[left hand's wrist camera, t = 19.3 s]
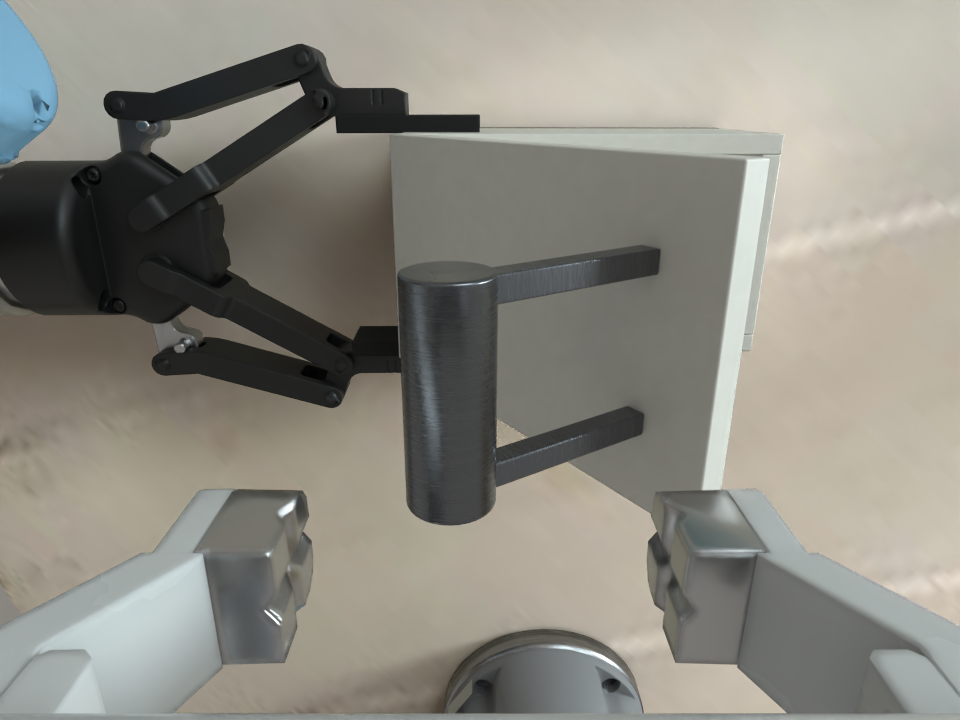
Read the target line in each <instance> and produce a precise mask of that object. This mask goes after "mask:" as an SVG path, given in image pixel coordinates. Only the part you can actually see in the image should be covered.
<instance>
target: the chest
mask: <svg viewBox="0 0 960 720" xmlns="http://www.w3.org/2000/svg"><path fill="white" fill-rule="evenodd" d="M401 134H420V135H435V136H450V137H466V138H481V139H496V140H511V141H527V142H542V143H557V144H572V145H588V146H603V147H618V148H633V149H648V150H664V151H679V152H694V153H709V154H725V155H740V156H755V157H767V158H769V160H770V161H769V168H768V175H767V182H766V188H765V195H764V202H763V209H762V215H761V222H760V229H759V236H758V242H757V249H756V256H755V263H754V269H753V276H752V283H751V290H750V296H749V303H748V310H747V317H746V323H745V330H744V337H743V344H742V350H741V351H751V347H752V340H753V335H752V334H753V333H754V327H755V321H756V314H757V308H758V301H759V295H760V288H761V282H762V275H763V269H764V262H765V256H766V249H767V243H768V236H769V229H770V223H771V216H772V210H773V203H774V197H775V190H776V184H777V177H778V171H779V164H780V158H781V155H779V154H781V153H782V146H783V140H784V134H778V133H766V132H754V131H743V130H731V129H719V128H542V127H480V132H403V133H401Z"/></svg>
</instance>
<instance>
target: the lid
mask: <svg viewBox="0 0 960 720" xmlns="http://www.w3.org/2000/svg"><path fill="white" fill-rule="evenodd" d="M390 155H391V178H392V201H393V224H394V247H395V270H396V293H397V317H398V340H399V357H400V358H401V381H402V404H403V428H404V451H405V474H406V498H407V505H408V507H409V509H410V511H411V512H412V513H413V514H414V515H415V516H416V517H418V518H420V519H422V520H424V521H426V522H429V523H433V524H439V525H461V524H466V523H470V522H473V521H476V520H478V519H480V518H482V517H484V516H485V515H487V514H488V513H489V512H490V511H491V509H492V508H493V506H494V504H495V500H496V487H498V486H501V485H504V484H507V483H509V482H512V481H515V480H518V479H520V478H523V477H526V476H529V475H532V474H534V473H537V472H540V471H543V470H545V469H548V468H551V467H554V466H556V465H559V464H562V463H565V462H569V463H570V464H572V465H574V466H575V467H577V468H578V469H580V470H582V471H583V472H585V473H586V474H588V475H590V476H591V477H593V478H594V479H596V480H598V481H599V482H601V483H602V484H604V485H606V486H607V487H609V488H611V489H612V490H614V491H615V492H617V493H619V494H620V495H622V496H623V497H625V498H627V499H628V500H630V501H631V502H633V503H635V504H636V505H638V506H640V507H641V508H643V509H644V510H646V511H648V512H649V513H651V512H652V503H653V499H654V496H655V492H659V491H694V490H721V486H722V479H723V472H724V465H725V459H726V452H727V445H728V438H729V432H730V425H731V418H732V411H733V405H734V398H735V391H736V384H737V378H738V371H739V364H740V357H741V350H742V344H743V337H744V330H745V323H746V317H747V310H748V303H749V296H750V290H751V283H752V276H753V269H754V263H755V256H756V249H757V242H758V236H759V229H760V222H761V215H762V209H763V202H764V195H765V188H766V182H767V175H768V168H769V161H770V160H769V158H767V157H755V156H740V155H725V154H709V153H694V152H679V151H664V150H648V149H633V148H618V147H603V146H588V145H572V144H557V143H542V142H527V141H511V140H496V139H481V138H466V137H450V136H435V135H420V134H390ZM497 418H498V419H499V420H501V421H503V422H504V423H506V424H507V425H509V426H511V427H512V428H514V429H516V430H517V431H519V432H520V433H522V434H524V435H525V436H527V437H528V438H527V439H524V440H520V441H517V442H514V443H511V444H508V445H505V446H502V447H499V448H496V426H497Z"/></svg>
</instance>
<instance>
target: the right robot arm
mask: <svg viewBox="0 0 960 720" xmlns="http://www.w3.org/2000/svg"><path fill="white" fill-rule="evenodd" d="M297 82H300V84H301V86H302V89H303V91H304V93H305V95H304V96H302V97H301V98H299V99H298V100H296V101H295V102H293V103H292V104H290V105H289V106H287V107H286V108H284V109H283V110H281V111H280V112H278V113H277V114H275V115H274V116H272V117H271V118H269V119H268V120H266V121H265V122H263V123H262V124H261V125H259V126H258V127H256V128H255V129H253V130H252V131H250V132H249V133H247V134H246V135H244V136H243V137H241V138H240V139H238V140H237V141H235V142H234V143H232V144H231V145H229V146H228V147H226V148H225V149H223V150H222V151H220V152H219V153H217V154H216V155H214V156H213V157H211V158H210V159H208V160H207V161H205V162H203V163H202V164H200V165H197V166H195V167H194V168H192V169H190V170H189V171H187V172H186V173H182V172H181V171H179V170H178V169H176V168H175V167H173V166H172V165H170V164H169V163H167V162H166V161H164V160H163V159H161V158H160V157H158V156H157V155H155V154H154V153H152V152H151V145H152V143H153V141H154V140H156V139H158V138H162V137H165V136H166V135H168V133H169V132H170V127H171V124H170V120H181V119H188V118H192V117H195V116H199V115H202V114H205V113H207V112H210V111H213V110H216V109H219V108H222V107H225V106H228V105H231V104H234V103H237V102H240V101H243V100H246V99H249V98H252V97H255V96H258V95H261V94H264V93H267V92H270V91H273V90H276V89H279V88H282V87H285V86H288V85H291V84H294V83H297ZM57 106H58V92H57V86H56V82H55V79H54V76H53V73H52V71H51V68H50V66H49V63H48V61H47V59H46V57H45V55H44V53H43V51H42V50H41V48H40V46H39V45H38V43H37V41H36V40H35V38H34V37H33V36H32V34H31V33H30V31H29V30H28V28H27V27H26V26H25V24H24V23H23V22H22V21H21V19H20V18H19V17H18V16H17V14H16V13H15V12H14V11H13V9H12V8H11V7H10V6H9V5H8V4H7V2H6V1H5V0H0V315H26V316H27V315H30V314H34V313H38V314H42V315H120V314H127V315H132V316H136V317H138V318H141V319H143V320H145V321H147V322H150V323H152V325H153V329H154V333H155V338H156V342H157V346H158V350H159V353H158V354H157V355H156V356H154V357H153V359H152V367H153V369H154V370H155V371H156V372H157V373H158V374H160V375H166V376H167V375H183V374H201V375H205V376H209V377H213V378H217V379H221V380H225V381H228V382H232V383H236V384H240V385H244V386H248V387H251V388H255V389H259V390H263V391H267V392H271V393H275V394H278V395H282V396H286V397H290V398H294V399H298V400H301V401H305V402H309V403H313V404H317V405H321V406H324V407H328V408H334V407H337V406H339V405H340V404H341V402H342V400H343V398H344V395H345V393H346V391H347V389H348V386H349V384H350V380H351V377H352V376H354V375H355V374H358V373H387V372H388V373H395V372H396V373H401V358H400V357H399V340H398V326H360V328H359V330H358V331H357V333H356V335H355V337H354V339H353V340H351V339H350V338H348V337H346V336H344V335H342V334H340V333H338V332H336V331H334V330H332V329H331V328H329V327H327V326H325V325H323V324H321V323H319V322H317V321H315V320H314V319H312V318H310V317H308V316H306V315H304V314H302V313H300V312H298V311H296V310H295V309H293V308H291V307H289V306H287V305H285V304H283V303H281V302H279V301H278V300H276V299H274V298H272V297H270V296H268V295H266V294H264V293H262V292H260V291H259V290H257V289H255V288H253V287H251V286H250V285H249V284H248V282H247V281H246V280H245V279H243V278H241V277H239V276H237V275H236V274H234V273H232V272H230V271H228V270H227V267H229V266H230V265H231V263H230V255H229V250H228V247H227V245H226V242H225V240H224V237H223V229H224V222H225V218H224V210H223V205H219V204H218V202H217V200H216V198H215V197H214V196H215V195H217V194H218V193H220V192H221V191H223V190H224V189H226V188H227V187H229V186H230V185H232V184H233V183H235V182H236V181H237V180H238V179H239V178H241V177H242V176H244V175H245V174H247V173H249V172H250V171H252V170H253V169H255V168H256V167H258V166H259V165H261V164H262V163H264V162H265V161H267V160H268V159H270V158H271V157H273V156H274V155H276V154H278V153H279V152H281V151H282V150H284V149H285V148H287V147H288V146H290V145H291V144H293V143H294V142H296V141H297V140H299V139H300V138H302V137H303V136H305V135H307V134H308V133H310V132H311V131H313V130H314V129H316V128H317V127H319V126H320V125H322V124H323V123H325V122H326V121H328V120H329V119H331V118H332V117H334V116H335V117H336V130H337V133H403V132H480V115H409V105H408V93H406V92H403V91H401V90H399V89H396V88H342V87H340V86H338V85H337V84H336V83H335V82H334V81H333V79H332V77H331V75H330V72H329V70H328V67H327V65H326V58H325V56H324V55H323V53H322V52H321V51H319V50H317V49H315V48H313V47H310V46H307V45H304V44H296V45H293V46H290V47H288V48H285V49H282V50H279V51H276V52H273V53H270V54H267V55H264V56H261V57H258V58H255V59H252V60H249V61H246V62H243V63H240V64H237V65H235V66H232V67H229V68H226V69H223V70H220V71H217V72H214V73H211V74H208V75H205V76H202V77H199V78H196V79H193V80H190V81H187V82H184V83H182V84H179V85H176V86H173V87H170V88H167V89H164V90H161V91H158V92H155V93H149V92H130V91H111V92H109V93H108V94H106V96H105V98H104V107H105V110H106V111H107V113H108V114H109V115H110V116H111V117H113V118H116V119H117V122H118V130H119V138H120V146H121V152H120V153H118V154H116V155H115V156H113V157H112V158H110V159H108V160H105V161H24V162H20V163H18V164H15V163H12V162H11V160H14V159H15V158H17V157H18V154H19V151H20V150H21V149H22V148H23V147H24V146H26V145H27V144H28V143H29V142H30V141H32V140H33V139H34V138H35V137H36V136H37V135H39V134H40V133H41V132H42V131H43V130H45V129H46V128H47V127H48V126H49V124H50V123H51V122H52V120H53V118H54V117H55V114H56V111H57ZM191 305H192V306H194V307H196V308H198V309H200V310H202V311H204V312H206V313H207V314H209V315H212V316H214V317H218V318H226V319H228V320H230V321H232V322H234V323H236V324H238V325H240V326H242V327H244V328H246V329H248V330H250V331H252V332H254V333H256V334H258V335H260V336H261V337H263V338H265V339H267V340H269V341H271V342H273V343H275V344H277V345H279V346H281V347H283V348H285V349H287V350H289V351H291V352H293V353H295V354H296V355H298V356H300V357H302V358H304V359H306V360H308V361H310V362H308V361H304V360H300V359H296V358H293V357H289V356H285V355H281V354H278V353H274V352H270V351H266V350H263V349H259V348H255V347H251V346H248V345H244V344H240V343H236V342H233V341H229V340H225V339H220V338H212V337H203V336H202V332H201V331H200V330H198V329H195V328H190V327H186V326H184V325H183V324H182V323H181V322H180V321H179V318H178V315H180V314H181V313H182V312H183V311H185V310H186V309H187V308H189V307H190V306H191ZM311 362H312V363H311ZM444 714H644V713H643V707H642V702H641V699H640V695H639V692H638V688H637V685H636V682H635V679H634V676H633V674H632V673H631V671H630V669H629V668H628V666H627V665H626V663H625V662H624V661H623V660H622V659H621V657H619V656H618V655H617V654H616V653H615V652H614V651H613V650H611V649H610V648H609V647H607V646H605V645H604V644H602V643H601V642H599V641H596V640H594V639H592V638H590V637H587V636H584V635H581V634H578V633H574V632H569V631H563V630H550V629H542V630H530V631H523V632H518V633H514V634H510V635H507V636H504V637H501V638H499V639H496V640H494V641H492V642H490V643H488V644H486V645H485V646H483V647H481V648H480V649H478V650H477V651H476V652H474V653H473V654H472V655H471V656H469V657H468V658H467V659H466V660H465V661H464V662H463V663H462V664H461V665H460V667H459V668H458V669H457V671H456V672H455V674H454V676H453V677H452V679H451V681H450V683H449V686H448V689H447V692H446V698H445V713H444Z"/></svg>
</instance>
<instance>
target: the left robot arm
mask: <svg viewBox="0 0 960 720" xmlns="http://www.w3.org/2000/svg"><path fill="white" fill-rule="evenodd" d="M308 517H309V512H308V505H307V498H306V495H305V494H304V492H303V491H302V490H251V489H238V490H235V489H204V490H201V491H198V492H197V493H196V495H195V496H194V497H193V499H192V500H191V501H190V503H189V504H188V505H187V507H186V508H185V509H184V511H183V512H182V514H181V515H180V516H179V518H178V519H177V520H176V522H175V523H174V524H173V526H172V527H171V528H170V530H169V531H168V532H167V534H166V535H165V536H164V538H163V539H162V540H161V542H160V543H159V544H158V546H157V547H156V549H155V550H154V551H153V553H141V554H139V555H137V556H135V557H133V558H131V559H129V560H127V561H125V562H123V563H121V564H119V565H117V566H115V567H113V568H112V569H110V570H108V571H106V572H104V573H102V574H100V575H98V576H96V577H94V578H92V579H90V580H88V581H86V582H84V583H82V584H81V585H79V586H77V587H75V588H73V589H71V590H69V591H67V592H65V593H63V594H61V595H59V596H57V597H55V598H53V599H51V600H50V601H48V602H46V603H44V604H42V605H40V606H38V607H36V608H34V609H32V610H30V611H28V612H26V613H24V614H22V615H21V616H19V617H17V618H15V619H13V620H11V621H9V622H7V623H5V624H3V625H1V626H0V720H960V626H958V625H956V624H955V623H953V622H951V621H949V620H947V619H945V618H943V617H941V616H939V615H937V614H935V613H933V612H931V611H929V610H928V609H926V608H924V607H922V606H920V605H918V604H916V603H914V602H912V601H910V600H908V599H906V598H904V597H902V596H901V595H899V594H897V593H895V592H893V591H891V590H889V589H887V588H885V587H883V586H881V585H879V584H877V583H875V582H873V581H872V580H870V579H868V578H866V577H864V576H862V575H860V574H858V573H856V572H854V571H852V570H850V569H848V568H846V567H845V566H843V565H841V564H839V563H837V562H835V561H833V560H831V559H829V558H827V557H825V556H823V555H821V554H819V553H807V551H806V550H805V549H804V547H803V546H802V545H801V543H800V542H799V541H798V539H797V538H796V537H795V535H794V534H793V533H792V531H791V530H790V529H789V527H788V526H787V525H786V523H785V522H784V520H783V519H782V518H781V516H780V515H779V514H778V512H777V511H776V510H775V508H774V507H773V506H772V504H771V503H770V502H769V500H768V499H767V498H766V496H765V495H764V494H763V492H762V491H760V490H758V489H730V490H694V491H659V492H655V496H654V499H653V503H652V512H651V517H652V520H653V522H654V525H655V527H656V530H657V532H656V533H655V534H654V536H653V537H652V538H651V539H650V540H649V541H648V552H647V572H648V582H649V587H650V592H651V595H652V598H653V601H654V604H655V605H656V606H657V607H658V608H660V609H661V610H662V611H664V619H663V630H664V632H665V635H666V638H667V641H668V644H669V646H670V649H671V652H672V655H673V657H674V660H675V663H700V664H736V665H738V666H737V667H738V668H739V669H740V670H741V671H742V672H743V673H744V674H745V675H746V676H747V677H748V678H750V679H751V680H752V681H753V682H754V683H755V684H756V685H757V686H758V687H759V688H760V689H762V690H763V691H764V692H765V693H766V694H767V695H768V696H769V697H770V698H771V699H773V700H774V701H775V702H776V703H777V704H778V705H779V706H780V707H781V708H782V709H783V710H785V711H786V712H787V713H788V714H172V713H174V712H175V711H176V710H177V709H178V708H179V707H180V706H181V705H182V704H183V703H185V702H186V701H187V700H188V699H189V698H190V697H191V696H192V695H193V694H194V693H195V692H197V691H198V690H199V689H200V688H201V687H202V686H203V685H204V684H205V683H206V682H208V681H209V680H210V679H211V678H212V677H213V676H214V675H215V674H216V673H217V672H219V671H220V670H221V669H222V665H224V664H259V663H285V660H286V658H287V655H288V652H289V649H290V646H291V644H292V641H293V638H294V635H295V632H296V630H297V619H296V611H298V610H299V609H300V608H302V607H303V606H304V605H305V604H306V601H307V598H308V595H309V592H310V587H311V580H312V574H313V550H312V541H311V540H310V539H309V538H308V537H307V536H306V534H305V533H304V532H303V530H304V527H305V525H306V522H307V520H308Z"/></svg>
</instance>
